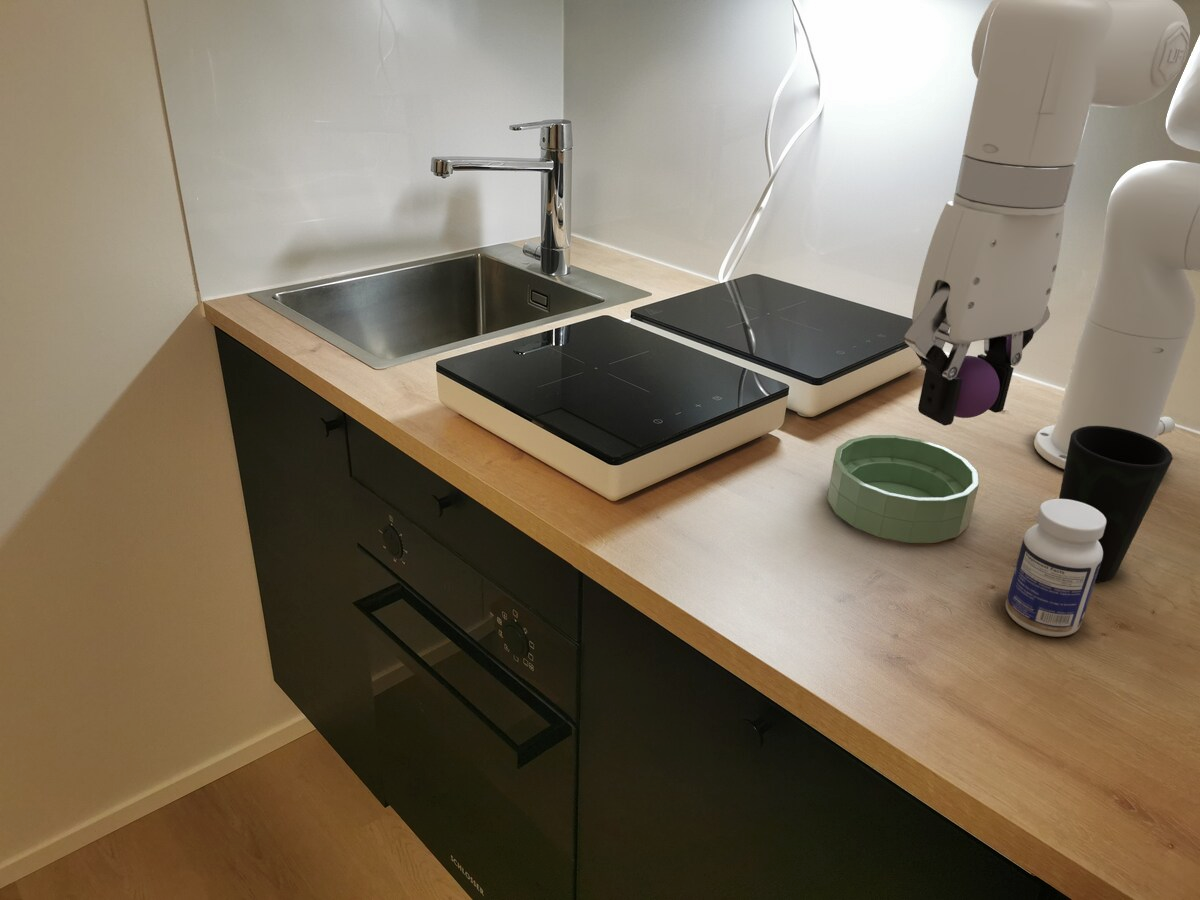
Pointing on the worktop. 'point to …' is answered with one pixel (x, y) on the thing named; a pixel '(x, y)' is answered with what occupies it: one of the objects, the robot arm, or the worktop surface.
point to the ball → (976, 387)
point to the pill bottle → (1057, 568)
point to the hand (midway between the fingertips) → (960, 410)
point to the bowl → (902, 488)
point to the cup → (1114, 483)
